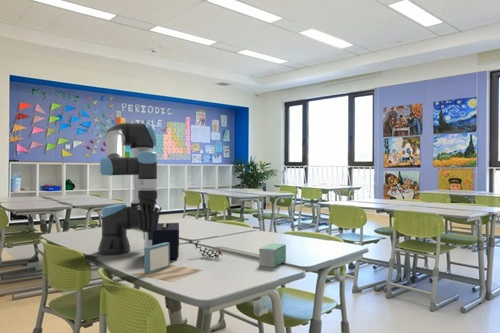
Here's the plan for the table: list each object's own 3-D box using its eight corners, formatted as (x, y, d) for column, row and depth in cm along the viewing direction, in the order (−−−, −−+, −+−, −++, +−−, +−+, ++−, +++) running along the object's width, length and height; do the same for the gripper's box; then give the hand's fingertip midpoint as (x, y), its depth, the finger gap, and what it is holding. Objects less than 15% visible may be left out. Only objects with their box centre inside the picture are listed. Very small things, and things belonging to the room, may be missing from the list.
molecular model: (220, 261, 171) (220, 242, 171) (191, 258, 177) (191, 240, 177) (226, 258, 177) (226, 240, 177) (198, 255, 183) (198, 237, 183)
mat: (133, 275, 148) (133, 274, 148) (165, 265, 164) (165, 264, 164) (172, 283, 138) (172, 281, 138) (203, 271, 153) (203, 270, 153)
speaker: (178, 261, 171) (178, 227, 171) (148, 263, 169) (148, 228, 169) (179, 251, 192) (178, 221, 192) (152, 252, 190) (152, 221, 190)
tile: (144, 273, 149) (144, 247, 149) (166, 266, 160) (165, 242, 160) (148, 274, 148) (148, 248, 148) (170, 267, 159) (169, 242, 159)
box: (286, 260, 171) (286, 243, 171) (275, 267, 159) (275, 249, 159) (271, 259, 174) (270, 242, 174) (259, 266, 162) (258, 248, 162)
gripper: (129, 189, 157) (129, 247, 157) (152, 190, 150) (153, 251, 150) (143, 188, 163) (143, 244, 163) (166, 189, 156) (166, 247, 156)
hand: (148, 247), depth 156 cm, fingers closed
